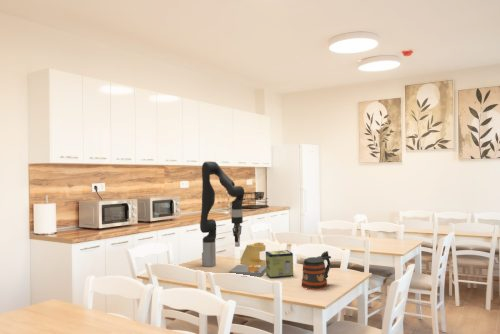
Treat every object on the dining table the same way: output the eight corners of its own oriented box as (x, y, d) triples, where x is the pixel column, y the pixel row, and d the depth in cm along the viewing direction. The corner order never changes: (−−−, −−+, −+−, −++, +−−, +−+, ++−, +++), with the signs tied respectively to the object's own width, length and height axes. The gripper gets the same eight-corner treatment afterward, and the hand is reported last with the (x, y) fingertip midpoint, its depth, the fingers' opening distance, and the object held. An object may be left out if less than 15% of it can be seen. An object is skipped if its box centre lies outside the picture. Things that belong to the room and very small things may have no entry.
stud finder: (248, 271, 271) (247, 266, 271) (249, 269, 275) (249, 265, 275) (257, 271, 270) (257, 266, 270) (258, 270, 274) (258, 265, 274)
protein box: (265, 275, 274) (265, 251, 274) (288, 273, 278) (287, 249, 278) (270, 279, 264) (269, 254, 264) (293, 277, 267) (293, 252, 268)
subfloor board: (229, 276, 274) (229, 271, 274) (237, 269, 292) (237, 264, 292) (260, 277, 268) (260, 272, 268) (267, 270, 287) (267, 265, 287)
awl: (234, 246, 283) (234, 231, 283) (235, 245, 286) (235, 231, 286) (239, 246, 282) (238, 231, 282) (240, 245, 285) (240, 231, 285)
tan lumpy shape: (268, 265, 300) (268, 243, 301) (258, 268, 294) (258, 245, 295) (250, 261, 316) (249, 240, 316) (240, 263, 310) (240, 241, 310)
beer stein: (320, 281, 256) (319, 248, 256) (338, 287, 244) (337, 252, 244) (296, 287, 245) (295, 252, 245) (313, 293, 233) (313, 256, 233)
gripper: (239, 217, 276) (239, 243, 276) (245, 214, 290) (245, 240, 290) (228, 217, 278) (228, 243, 278) (234, 214, 292) (235, 239, 292)
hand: (237, 241), depth 284 cm, fingers closed on awl, 3 cm apart
